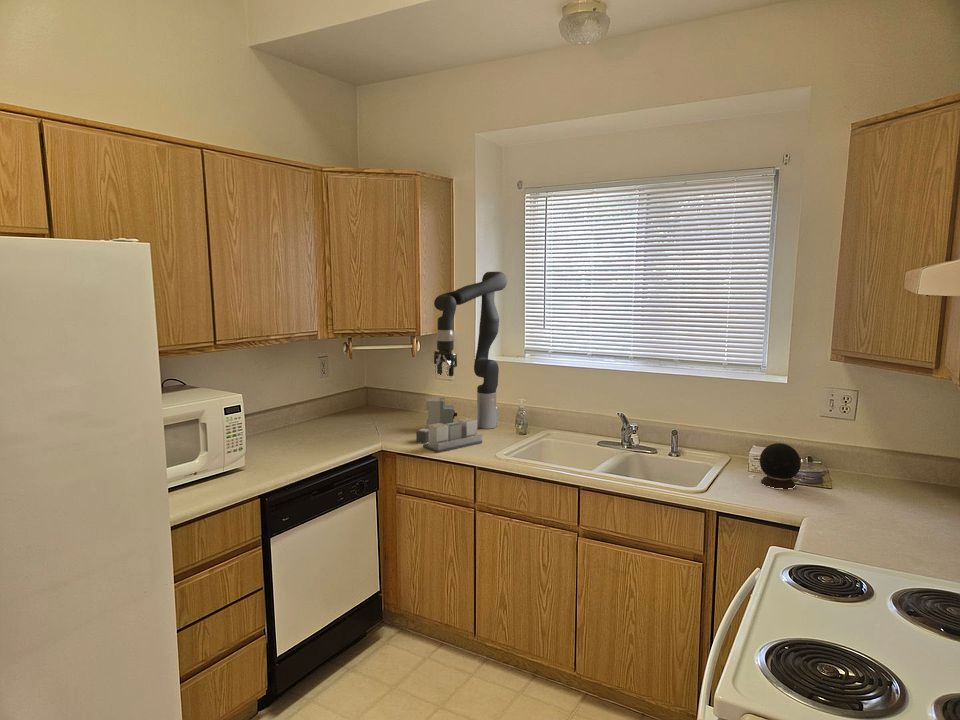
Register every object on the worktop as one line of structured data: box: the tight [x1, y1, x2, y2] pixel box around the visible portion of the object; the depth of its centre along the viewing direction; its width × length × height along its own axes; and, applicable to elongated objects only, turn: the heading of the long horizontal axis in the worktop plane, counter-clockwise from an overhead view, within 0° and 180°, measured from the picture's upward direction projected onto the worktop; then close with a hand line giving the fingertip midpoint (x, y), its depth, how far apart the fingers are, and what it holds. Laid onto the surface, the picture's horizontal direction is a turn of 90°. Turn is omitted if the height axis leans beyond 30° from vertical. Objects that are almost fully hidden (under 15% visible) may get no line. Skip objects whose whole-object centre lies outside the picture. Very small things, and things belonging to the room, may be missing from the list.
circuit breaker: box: [425, 397, 458, 429], centre depth 295 cm, size 8×14×15 cm, turn 89°
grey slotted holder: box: [422, 417, 483, 454], centre depth 270 cm, size 24×11×10 cm, turn 130°
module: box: [445, 421, 462, 441], centre depth 270 cm, size 6×4×9 cm
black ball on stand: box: [759, 442, 802, 489], centre depth 220 cm, size 13×13×15 cm
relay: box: [415, 428, 429, 444], centre depth 276 cm, size 5×5×5 cm
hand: (445, 374), depth 284 cm, fingers open, 8 cm apart
